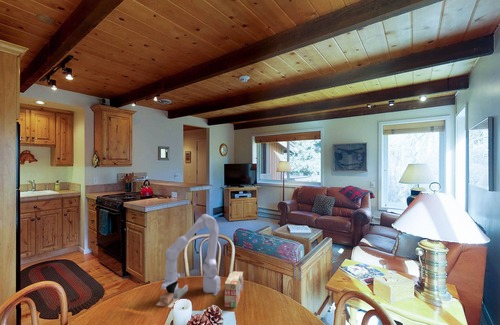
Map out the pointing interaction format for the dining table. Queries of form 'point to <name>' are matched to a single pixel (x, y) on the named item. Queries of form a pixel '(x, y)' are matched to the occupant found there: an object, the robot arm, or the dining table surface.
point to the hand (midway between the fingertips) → (170, 296)
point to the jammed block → (166, 299)
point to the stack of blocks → (233, 289)
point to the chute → (177, 294)
